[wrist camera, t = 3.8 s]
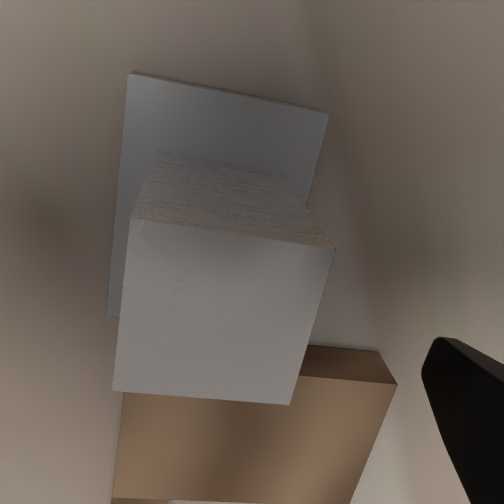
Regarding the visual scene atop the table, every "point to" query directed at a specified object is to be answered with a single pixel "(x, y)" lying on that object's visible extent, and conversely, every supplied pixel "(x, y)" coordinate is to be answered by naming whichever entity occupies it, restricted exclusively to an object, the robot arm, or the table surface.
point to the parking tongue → (206, 144)
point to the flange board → (258, 438)
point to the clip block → (218, 283)
